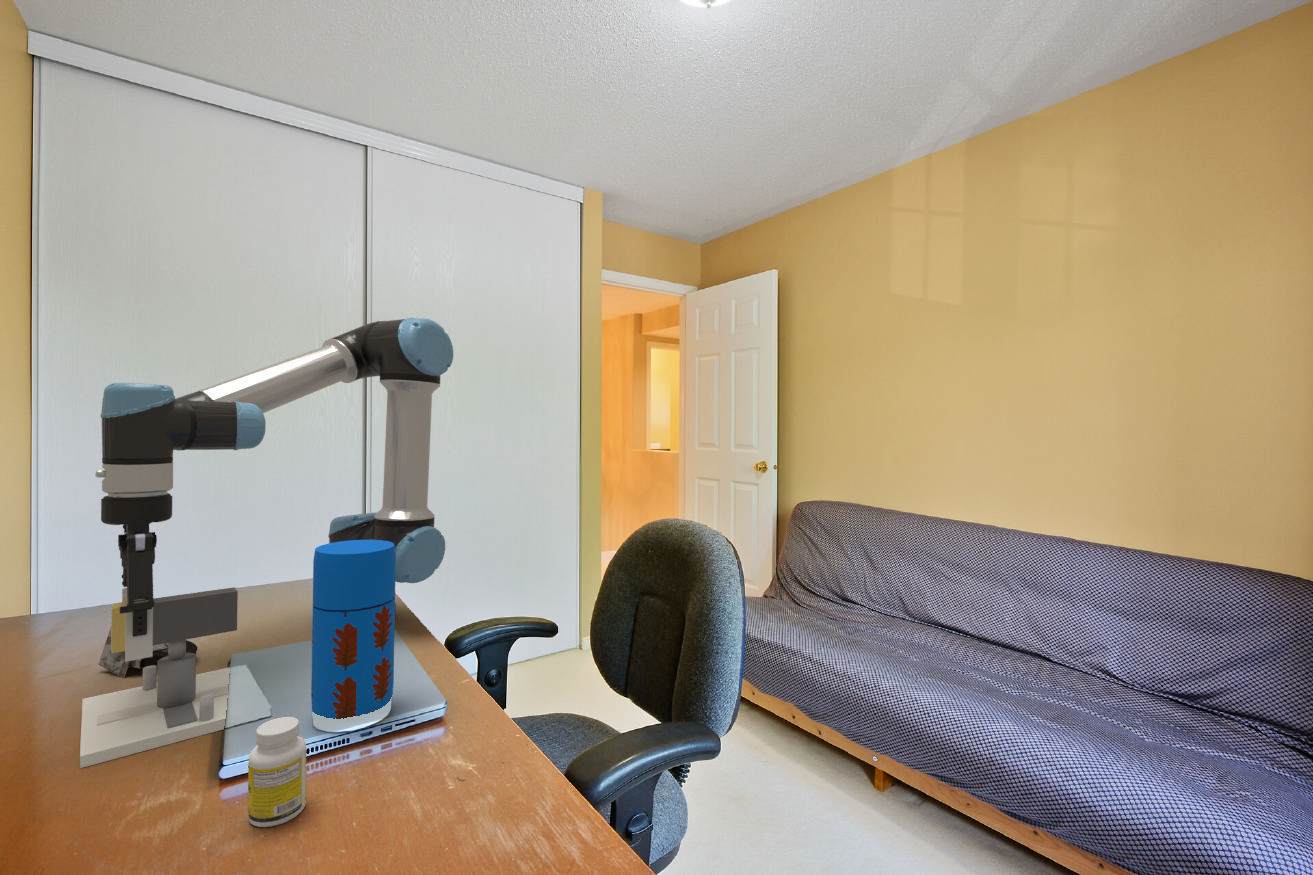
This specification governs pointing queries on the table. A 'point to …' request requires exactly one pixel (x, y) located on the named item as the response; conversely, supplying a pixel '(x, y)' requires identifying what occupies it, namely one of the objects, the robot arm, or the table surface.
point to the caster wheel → (119, 666)
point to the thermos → (353, 627)
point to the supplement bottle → (277, 773)
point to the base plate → (154, 711)
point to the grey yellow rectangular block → (182, 619)
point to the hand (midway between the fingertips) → (136, 644)
